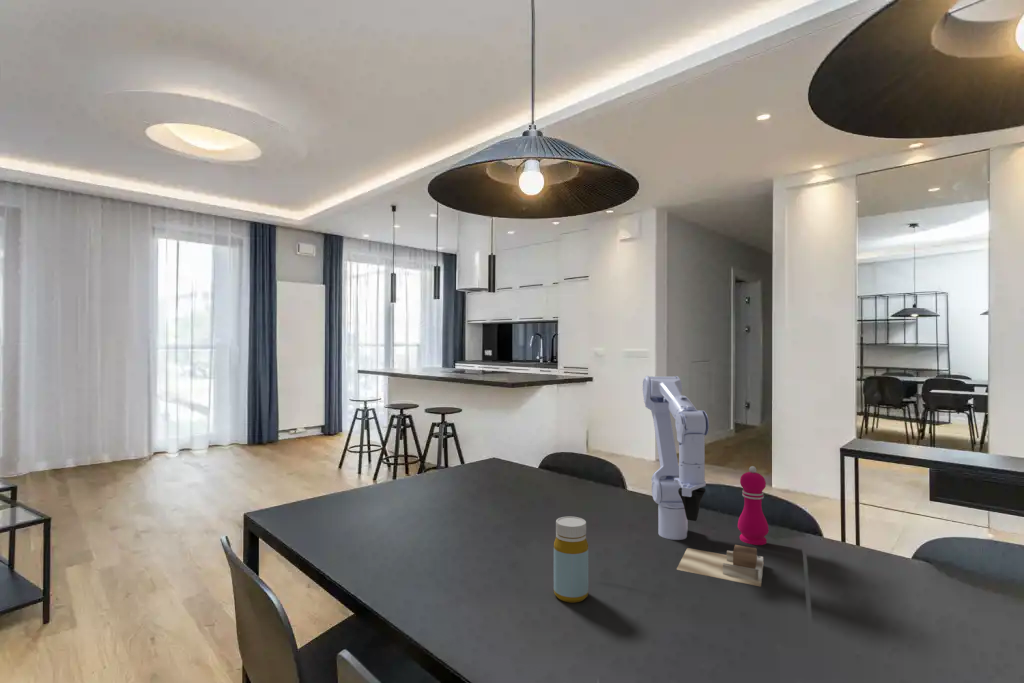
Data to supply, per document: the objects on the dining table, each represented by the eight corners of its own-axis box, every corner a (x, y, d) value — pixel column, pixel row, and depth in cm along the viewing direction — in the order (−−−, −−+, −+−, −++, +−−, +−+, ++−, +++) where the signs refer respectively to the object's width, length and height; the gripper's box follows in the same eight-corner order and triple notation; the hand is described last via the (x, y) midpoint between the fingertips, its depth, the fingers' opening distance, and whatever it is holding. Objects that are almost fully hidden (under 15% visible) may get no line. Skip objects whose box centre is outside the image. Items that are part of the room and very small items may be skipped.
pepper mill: (772, 550, 127) (772, 470, 127) (741, 548, 129) (741, 468, 129) (764, 540, 134) (763, 463, 134) (734, 537, 136) (734, 462, 136)
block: (735, 564, 117) (735, 544, 117) (756, 568, 114) (756, 548, 115) (733, 572, 113) (733, 551, 113) (755, 576, 111) (755, 555, 111)
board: (687, 551, 126) (687, 539, 126) (763, 566, 118) (763, 553, 118) (676, 573, 114) (676, 560, 114) (760, 591, 106) (760, 576, 106)
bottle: (584, 586, 108) (584, 515, 108) (591, 603, 101) (591, 527, 101) (551, 587, 107) (552, 515, 108) (555, 604, 100) (556, 527, 101)
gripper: (680, 454, 129) (680, 508, 129) (668, 466, 116) (668, 526, 116) (709, 457, 126) (709, 512, 125) (700, 469, 113) (700, 531, 113)
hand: (691, 519), depth 121 cm, fingers closed
